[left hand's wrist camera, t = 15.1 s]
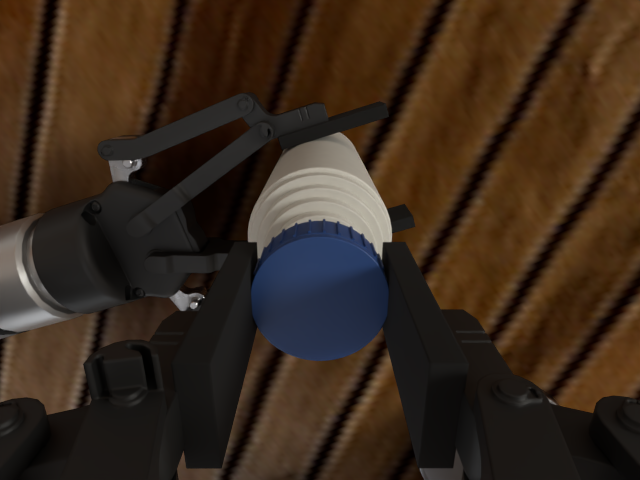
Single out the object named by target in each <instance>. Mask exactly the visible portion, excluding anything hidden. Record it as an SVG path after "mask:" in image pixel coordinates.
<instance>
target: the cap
mask: <svg viewBox="0 0 640 480" xmlns="http://www.w3.org/2000/svg"><path fill="white" fill-rule="evenodd" d="M384 269H385V268H384V265H383V263H382V260H381V257H380V254H379V253H378V254H377V252H376V251H375V248H374V245H373V243H370V242H369V241H368V240H367V239H366V238H365V237H364V234H363V233H362V234H360V233H358V232H357V231H355V230H354V229H353V227H352V226H350V227H348V226H345V225H342V224H340V222H339V221H337V223H335V222H331V221H325V219H323V221H311V220H309V221H308V222H304V223H300V224H298V223H295V226H292V227H290V228H288V229H286V230H285V229H283V230H282V232H281V233H280V234H279V235H277V236H276V237H275V238H274V237H272V239H271V242H270V243H269V244H268V246H267V247H264V248H263V251H262V254H261V257H260V258H258V261H257V264H256V267H255V270H254V272H253V274H254V275H255V276H254V279H253V282H252V285H251V300H252V315H253V318H254V321H255V323H256V325H257V327H258V328H259V330H260V331H261V333H262V334H263V335H264V337H265V338H266V339H267V340H268V341H269V342H270V343H272V344H273V345H274V346H275V347H277V348H278V349H280V350H282V351H283V352H285V353H287V354H290V355H292V356H295V357H298V358H301V359H307V360H315V361H325V360H333V359H338V358H342V357H345V356H348V355H350V354H352V353H354V352H356V351H358V350H360V349H361V348H363V347H364V346H366V345H367V344H368V343H369V342H370V341H372V339H373V338H374V337H375V336H376V335H377V334H378V332H379V331H380V329H381V328H382V326H383V324H384V322H385V320H386V317H387V311H388V296H389V286H388V283H387V278H386V275H385V272H384Z"/></svg>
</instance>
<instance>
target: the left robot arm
mask: <svg viewBox="0 0 640 480" xmlns="http://www.w3.org/2000/svg"><path fill="white" fill-rule="evenodd" d="M257 261H258V252H257V242H234V244H233V246H232V248H231V250H230V252H229V254H228V256H227V258H226V259H225V261H224V263H223V265H222V267H221V269H220V271H219V273H218V275H217V277H216V278H215V280H214V282H213V284H212V286H211V288H210V290H209V292H208V294H207V296H206V298H205V299H204V301H203V303H202V305H201V307H200V309H199V311H176V312H174V313H173V314H172V315H170V316H169V317H167V318H166V319H165V320H163V321H162V323H161V324H160V326H159V327H158V329H157V330H156V332H155V335H153V336H152V338H151V340H150V341H149V342H148V341H144V340H126V341H121V342H116V343H113V344H110V345H108V346H106V347H103V348H101V349H99V350H98V351H96V352H95V353H93V354H92V355H90V357H89V358H88V359H87V360H86V361H85V363H84V364H83V365H84V369H85V374H86V378H87V382H88V386H89V390H90V394H91V399H92V401H91V403H90V405H87V406H84V407H80V408H77V409H72V410H68V411H63V412H59V413H54V414H50V415H47V414H46V411H45V407H44V405H43V404H42V403H41V402H40V401H39V400H38V399H32V398H27V397H26V398H17V399H11V400H7V401H4V402H1V403H0V480H178V473H177V467H178V464H179V461H180V459H181V456H182V453H183V451H184V455H185V462H186V468H222V464H223V460H224V456H225V453H226V449H227V445H228V441H229V437H230V433H231V429H232V425H233V421H234V417H235V413H236V409H237V405H238V401H239V397H240V393H241V389H242V385H243V381H244V377H245V373H246V369H247V366H248V362H249V358H250V354H251V350H252V346H253V342H254V338H255V334H256V330H257V325H256V323H255V321H254V318H253V315H252V300H251V285H252V282H253V279H254V276H255V275H254V274H253V272H254V270H255V267H256V264H257ZM382 263H383V265H384V268H385V269H384V272H385V275H386V278H387V283H388V286H389V296H388V311H387V317H386V320H385V322H384V324H383V326H382V327H383V331H384V335H385V339H386V343H387V347H388V351H389V355H390V359H391V363H392V367H393V371H394V374H395V378H396V382H397V386H398V390H399V394H400V398H401V402H402V406H403V410H404V414H405V418H406V422H407V426H408V430H409V434H410V438H411V442H412V446H413V450H414V454H415V458H416V462H417V465H418V468H420V471H421V474H422V476H423V478H424V480H640V401H639V400H636V399H632V398H629V397H622V396H609V397H603V398H602V399H600V400H599V401H598V402H597V403H596V406H595V409H594V413H589V412H585V411H580V410H576V409H571V408H567V407H562V406H559V404H558V403H557V402H556V401H555V400H554V399H553V397H551V396H550V395H549V394H548V393H546V392H545V391H543V390H541V389H540V388H539V387H537V386H536V385H535V384H533V383H532V382H530V381H528V380H526V379H524V378H522V377H520V376H516V375H513V373H512V372H511V370H510V369H509V367H508V366H507V364H506V363H505V361H504V360H503V358H502V356H501V355H500V353H499V352H498V350H497V349H496V347H495V346H494V344H493V343H491V340H490V338H489V337H488V335H487V334H486V333H485V331H484V329H483V328H482V326H481V325H480V323H479V321H478V320H477V319H476V318H474V317H473V316H472V315H470V314H469V313H467V312H466V311H464V310H441V309H440V308H439V306H438V304H437V302H436V300H435V298H434V296H433V294H432V292H431V290H430V289H429V287H428V285H427V283H426V281H425V279H424V277H423V275H422V273H421V271H420V270H419V268H418V266H417V264H416V262H415V260H414V258H413V256H412V254H411V252H410V250H409V249H408V247H407V245H406V243H405V242H383V247H382Z"/></svg>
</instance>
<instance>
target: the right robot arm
mask: <svg viewBox="0 0 640 480" xmlns="http://www.w3.org/2000/svg"><path fill="white" fill-rule="evenodd" d="M241 117H242V118H243V119H244V120H245V122H246V123H247V124H248V125H249V127H250V128H251V129H249V130H248V131H247V132H245V133H244V134H243V135H242V136H240V137H239V138H238V139H236V140H235V141H234V142H232V143H231V144H230V145H228V146H227V147H226V148H225V149H223V150H222V151H221V152H219V153H218V154H217V155H215V156H214V157H213V158H211V159H210V160H209V161H208V162H206V163H205V164H204V165H202V166H201V167H200V168H198V169H197V170H196V171H194V172H193V173H192V174H191V175H189V176H188V177H187V178H185V179H184V180H183V181H181V182H180V183H179V184H177V185H176V186H175V187H173V188H172V189H171V190H169V189H166V188H163V187H160V186H156V185H153V184H150V183H147V182H144V181H141V180H138V179H135V178H134V173H135V172H136V170H139V169H141V168H143V167H144V166H145V165H146V164H147V157H148V156H151V155H153V154H156V153H158V152H160V151H163V150H165V149H168V148H170V147H172V146H175V145H177V144H179V143H182V142H184V141H186V140H189V139H191V138H193V137H196V136H198V135H201V134H203V133H205V132H208V131H210V130H212V129H215V128H217V127H219V126H222V125H224V124H226V123H229V122H231V121H233V120H236V119H238V118H241ZM386 117H389V115H388V111H387V107H386V104H385V103H382V102H380V101H379V102H376V103H373V104H370V105H367V106H364V107H360V108H357V109H354V110H351V111H348V112H345V113H342V114H338V115H335V116H332V117H329V118H328V116H327V112H326V109H325V105H324V103H316V102H315V103H312V104H309V105H306V106H303V107H300V108H296V109H293V110H290V111H287V112H284V113H281V114H277V115H276V114H271V113H269V112H268V111H267V110H266V109H265V108H264V107H263V106H262V104H261V103H260V102H259V100H258V98H257V96H256V95H255V94H253V93H250V92H248V93H241V94H238V95H235V96H233V97H231V98H229V99H226V100H224V101H222V102H219V103H217V104H215V105H212V106H210V107H208V108H205V109H203V110H201V111H199V112H196V113H194V114H192V115H189V116H187V117H185V118H182V119H180V120H178V121H175V122H173V123H171V124H169V125H166V126H164V127H162V128H159V129H157V130H155V131H152V132H150V133H148V134H145V135H124V136H119V137H115V138H112V139H108V140H105V141H102V142H101V143H99V145H98V153H99V155H100V156H101V157H102V158H103V159H105V160H108V161H109V165H110V170H111V175H112V180H113V183H111V184H110V185H109V186H108V187H107V188H106V189H105V191H104V192H103V193H101V194H98V195H95V196H92V197H89V198H86V199H82V200H79V201H76V202H73V203H70V204H67V205H64V206H60V207H57V208H54V209H51V210H49V211H48V212H46V213H38V214H35V215H32V216H29V217H26V218H23V219H19V220H16V221H13V222H10V223H7V224H4V225H1V226H0V339H2V338H5V337H9V336H12V335H15V334H19V333H22V332H26V331H29V330H32V329H36V328H40V327H44V326H47V325H51V324H55V323H59V322H62V321H66V320H70V319H73V318H76V317H79V316H82V315H83V314H89V313H94V312H97V311H101V310H104V309H108V308H111V307H115V306H118V305H122V304H125V303H129V302H132V301H135V300H138V299H141V298H143V297H147V296H155V297H160V298H168V297H169V298H170V299H171V300H172V301H173V302H174V304H175V305H176V306H177V307H178V308H179V309H180V311H199V309H200V307H201V305H202V303H203V301H204V299H205V298H206V296H207V294H208V292H209V290H210V289H208V290H206V288H205V287H203V286H201V287H196V288H188V287H186V286H185V285H184V283H185V281H186V280H187V278H188V277H189V276H190V274H191V273H211V272H214V271H216V270H220V269H221V267H222V265H223V263H224V261H225V259H226V258H227V256H228V254H229V252H230V250H231V248H232V246H233V244H234V242H248V241H234V240H222V239H221V238H211V237H206V235H205V233H204V231H203V229H202V228H201V227H200V225H199V224H198V223H197V221H196V217H195V210H194V207H193V205H192V203H191V199H192V198H194V197H195V196H196V195H198V194H199V193H200V192H202V191H203V190H204V189H206V188H207V187H209V186H210V185H211V184H213V183H214V182H215V181H217V180H218V179H219V178H221V177H222V176H223V175H225V174H226V173H227V172H229V171H230V170H231V169H233V168H234V167H235V166H237V165H238V164H239V163H241V162H242V161H243V160H245V159H246V158H247V157H249V156H250V155H251V154H253V153H254V152H255V151H257V150H258V149H259V148H261V147H262V146H263V145H265V144H266V143H267V142H269V141H270V140H272V139H275V138H278V140H279V143H280V146H281V149H282V150H284V149H287V148H291V147H294V146H297V145H300V144H303V143H307V142H310V141H313V140H316V139H319V138H322V137H326V136H329V135H332V134H335V133H338V132H342V131H345V130H348V129H351V128H354V127H358V126H361V125H364V124H367V123H370V122H374V121H377V120H380V119H383V118H386ZM387 211H388V214H389V218H390V222H391V227H392V233H395V232H398V231H402V230H405V229H409V228H412V227H415V224H414V219H413V216H412V214H411V213H410V211H409V210H408V208H407V207H406V205H405V204H403V205H399V206H396V207H392V208H389V209H387Z"/></svg>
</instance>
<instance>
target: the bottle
mask: <svg viewBox="0 0 640 480" xmlns="http://www.w3.org/2000/svg"><path fill="white" fill-rule="evenodd" d="M323 219H325V221H331V222H335V223H337V221H339V222H340V224H342V225H345V226H348V227H350V226H352V227H353V229H354V230H355V231H357V232H358V233H360V234H362V233H363V234H364V237H365V238H366V239H367V240H368V241H369V242H370V243H373V245H374V248H375V251H376V252H377V254H378V253H379V254H380V257H381V260H382V247H383V242H391V241H392V227H391V222H390V218H389V214H388V211H387V209H386V207H385V205H384V203H383V201H382V199H381V197H380V195H379V193H378V191H377V189H376V187H375V186H374V184H373V182H372V180H371V178H370V176H369V174H368V172H367V170H366V168H365V166H364V164H363V162H362V160H361V159H360V157H359V155H358V153H357V151H356V149H355V147H354V146H353V144H352V143H351V141H350V140H349V139H348V138H347V137H346V136H344V135H343V134H342V133H340V132H338V133H335V134H332V135H329V136H326V137H322V138H319V139H316V140H313V141H310V142H307V143H303V144H300V145H297V146H294V147H291V148H287V149H284V151H283V152H282V154H281V156H280V158H279V160H278V162H277V164H276V166H275V168H274V170H273V172H272V174H271V175H270V177H269V179H268V181H267V183H266V185H265V187H264V189H263V191H262V193H261V195H260V197H259V198H258V200H257V202H256V204H255V206H254V209H253V211H252V213H251V217H250V221H249V227H248V242H257V252H258V258H260V257H261V254H262V251H263V248H264V247H267V246H268V244H269V243H270V242H271V239H272V237H274V238H275V237H276V236H277V235H279V234H280V233H281V232H282V230H283V229H285V230H286V229H288V228H290V227H292V226H295V223H298V224H300V223H304V222H308V221H309V220H311V221H323Z"/></svg>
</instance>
